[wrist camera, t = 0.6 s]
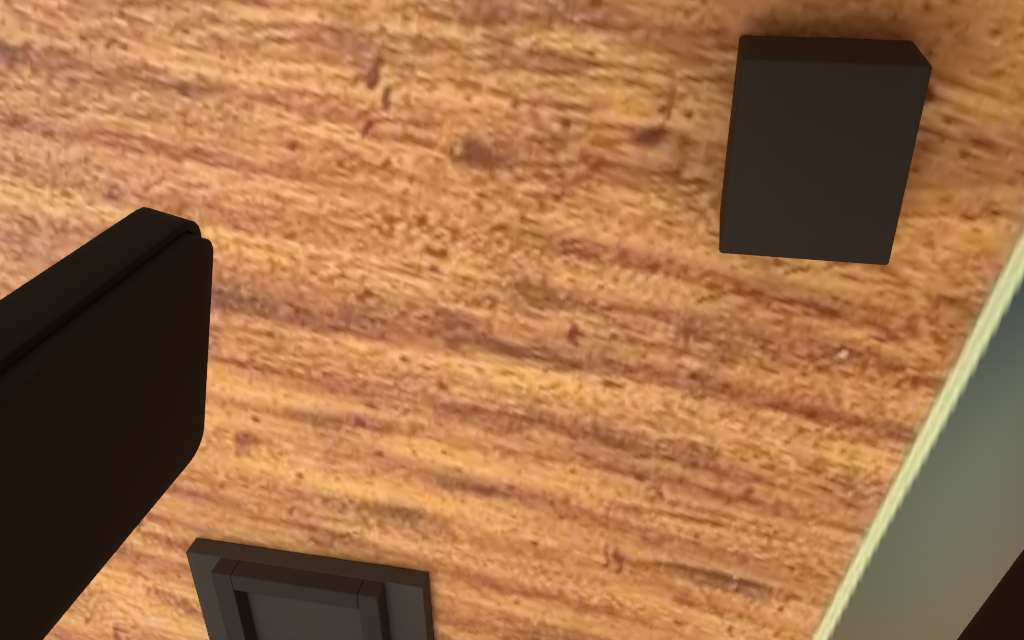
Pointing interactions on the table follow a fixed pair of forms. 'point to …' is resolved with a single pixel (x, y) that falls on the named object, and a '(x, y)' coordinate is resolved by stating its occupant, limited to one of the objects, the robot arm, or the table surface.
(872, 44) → the loose pad
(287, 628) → the pad base
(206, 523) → the table surface
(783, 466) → the table surface
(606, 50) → the table surface
